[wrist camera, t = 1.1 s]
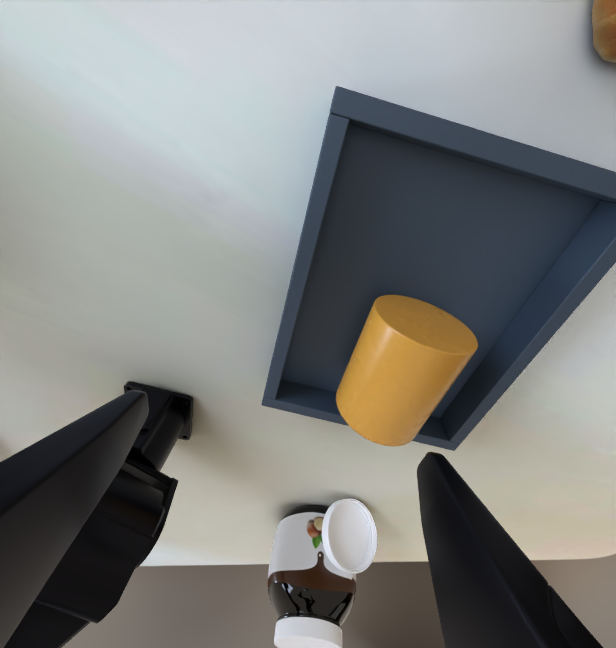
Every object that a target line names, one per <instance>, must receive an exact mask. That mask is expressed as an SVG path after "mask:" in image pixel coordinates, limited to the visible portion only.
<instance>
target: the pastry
mask: <svg viewBox="0 0 616 648" xmlns="http://www.w3.org/2000/svg"><path fill="white" fill-rule="evenodd" d="M591 16H592V25H593V46H594V49H595V50H596V52H597V53H598V54H599V56H600V57H601V59H603V60H604V61H607V62H613V63H616V0H594V3H593V9H592V15H591Z"/></svg>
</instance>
